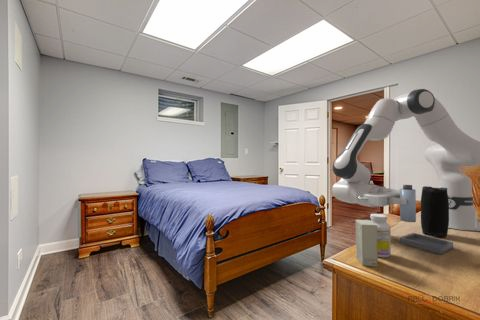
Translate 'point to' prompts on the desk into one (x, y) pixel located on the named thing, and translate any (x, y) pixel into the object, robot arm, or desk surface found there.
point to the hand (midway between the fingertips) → (410, 201)
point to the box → (426, 243)
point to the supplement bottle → (382, 235)
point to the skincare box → (366, 242)
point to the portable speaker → (435, 211)
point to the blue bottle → (408, 209)
